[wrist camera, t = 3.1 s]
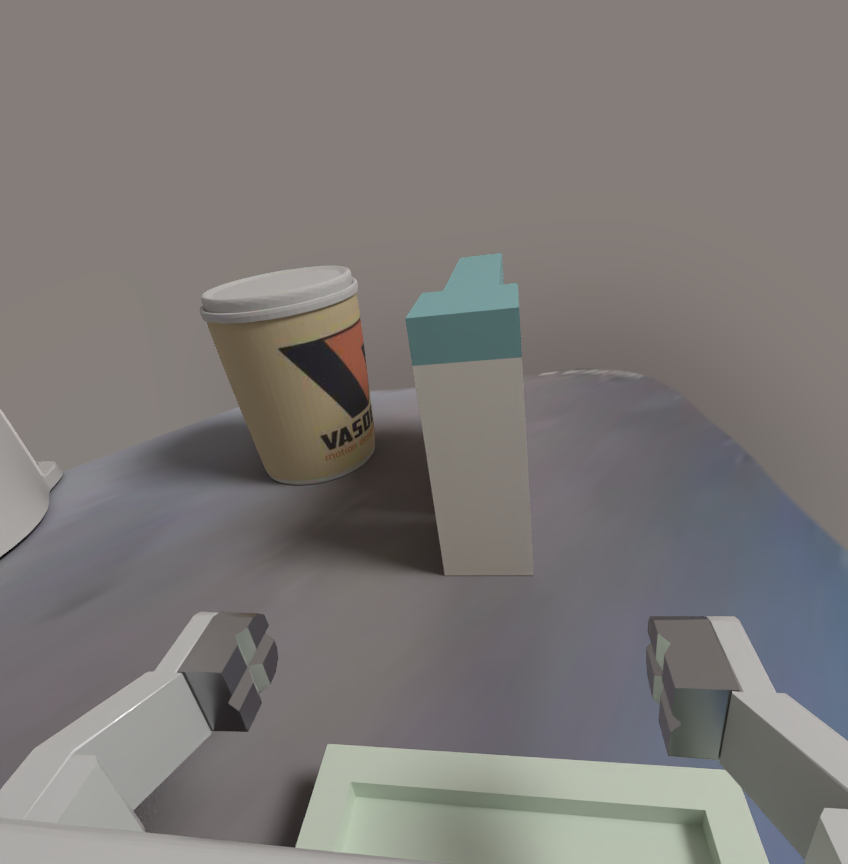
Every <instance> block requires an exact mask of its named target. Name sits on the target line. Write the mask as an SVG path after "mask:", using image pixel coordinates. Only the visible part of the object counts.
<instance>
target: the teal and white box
mask: <svg viewBox="0 0 848 864" xmlns="http://www.w3.org/2000/svg"><path fill="white" fill-rule="evenodd" d="M495 285H504V279H503V264H502V253H498V254H491V255H482V256H473V257H464V258H460V260H459V262H458V264H457V265H456V267H455V269H454V271H453V274H452V275H451V277H450V279H449V281H448V283H447V285H446V287H445V289H444V291H448V290H457V289H466V288H476V287H485V286H495Z"/></svg>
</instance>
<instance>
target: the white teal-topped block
mask: <svg viewBox="0 0 848 864" xmlns="http://www.w3.org/2000/svg"><path fill="white" fill-rule="evenodd" d="M405 319H406V326H407V332H408V338H409V346H410V352H411V358H412V365H413V372H414V378H415V384H416V391H417V398H418V404H419V411H420V417H421V424H422V430H423V437H424V443H425V450H426V457H427V463H428V470H429V476H430V483H431V489H432V496H433V502H434V509H435V515H436V522H437V528H438V535H439V541H440V548H441V554H442V561H443V567H444V574H445V575H534V573H533V555H532V536H531V518H530V499H529V481H528V463H527V444H526V426H525V407H524V389H523V371H522V352H521V335H520V317H519V297H518V283H513V284H504V285H495V286H485V287H476V288H466V289H457V290H448V291H438V292H429V293H422V294H421V296H420V297H419V299H418V300H417V302H416V303H415V305H414V306H413V308H412V309H411V311H410V312H409V314H408V315H407V317H406V318H405Z"/></svg>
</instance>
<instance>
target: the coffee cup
mask: <svg viewBox="0 0 848 864" xmlns="http://www.w3.org/2000/svg"><path fill="white" fill-rule="evenodd" d="M357 291H358V283H357V281H356V279H354V278H353V277H352V276H351V272H350V270H349V269H348V268H347V267H342V266H317V267H306V268H298V269H290V270H284V271H278V272H272V273H267V274H262V275H258V276H253V277H248V278H244V279H241V280H237V281H233V282H230V283H227V284H223V285H220V286H218V287H215V288H212V289H210V290H208V291H206V292H205V293H204V294H203V295H202V298H201V300H202V303H203V306H202V307H201V308H200V313H201V316H202V318H203V320H204V321H206V322H207V324H208V328H209V330H210V333H211V335H212V338H213V341H214V344H215V346H216V349H217V351H218V354H219V356H220V359H221V362H222V364H223V367H224V369H225V372H226V374H227V377H228V379H229V382H230V384H231V387H232V389H233V392H234V394H235V397H236V399H237V401H238V404H239V407H240V409H241V412H242V414H243V416H244V419H245V421H246V424H247V426H248V429H249V431H250V434H251V436H252V439H253V441H254V444H255V446H256V449H257V451H258V453H259V456H260V458H261V460H262V463H263V465H264V467H265V469H266V471H267V473H268V474H269V476H270V477H271V478H272V479H274V480H276V481H278V482H281V483H285V484H291V485H308V484H316V483H322V482H326V481H330V480H333V479H336V478H339V477H342V476H344V475H347V474H349V473H351V472H353V471H354V470H356V469H358V468H359V467H361V466H362V465H364V464H365V463H366V462H367V461H368V460H369V459H370V458H371V456H372V455H373V453H374V450H375V435H374V424H373V416H372V408H371V399H370V391H369V383H368V375H367V367H366V359H365V351H364V343H363V335H362V327H361V320H360V314H359V307H358V299H357V295H356V292H357Z"/></svg>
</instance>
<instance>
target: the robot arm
mask: <svg viewBox="0 0 848 864" xmlns="http://www.w3.org/2000/svg"><path fill="white" fill-rule="evenodd" d="M62 475H63V472H62V471H61V469H60V468H59V466H58V465H57V464H56V463H55V462H52V461H46V462H45V461H44V462H35V461H34V459H33V458H32V456H31V454H30V453H29V451H28V450H27V448H26V447H25V445H24V444H23V442H22V441H21V439H20V438H19V436H18V434H17V433H16V431H15V430H14V428H13V427H12V425H11V424H10V422H9V421H8V419H7V418H6V416H5V415H4V413H3V412H2V410H1V409H0V557H1V556H2V555H3V554H5V553H6V552H7V551H9V550H10V549H11V548H13V547H14V546H15V545H16V544H18V543H19V542H20V541H21V540H22V539H23V538H25V537H26V536H27V535H28V534H29V533H30V532H31V531H32V530H33V529H34V528H35V527H36V526H37V524H38V523H39V522H40V521H41V520H42V518H43V517H44V515H45V513H46V511H47V509H48V506H49V493H50V490H51V489H52V488H53V487H54V486H55V484H56V483H57V482H58V481H59V480H60V478H61V477H62ZM268 626H269V625H268V622H267V620H266V618H265V615H263V614H258V613H231V612H199V613H198V614H196V615H194V616H193V617H192V619H191V620H190V621H189V623H188V624H187V626H186V627H185V629H184V630H183V631H182V633H181V634H180V636H179V637H178V638H177V640H176V641H175V643H174V644H173V646H172V647H171V648H170V650H169V651H168V653H167V654H166V655H165V657H164V658H163V660H162V661H161V662H160V664H159V665H158V667H157V668H156V670H155V671H154V672H147V673H145V674H144V675H142V676H141V677H139V678H138V679H136V680H135V681H133V682H132V683H130V684H129V685H127V686H126V687H124V688H123V689H122V690H120V691H119V692H117V693H116V694H114V695H113V696H111V697H110V698H108V699H107V700H105V701H104V702H102V703H101V704H99V705H98V706H96V707H95V708H93V709H92V710H91V711H89V712H88V713H86V714H85V715H83V716H82V717H80V718H79V719H77V720H76V721H74V722H73V723H71V724H70V725H68V726H67V727H65V728H64V729H62V730H61V731H60V732H58V733H57V734H55V735H54V736H52V737H51V738H49V739H48V740H46V741H45V742H43V743H42V744H40V745H39V746H37V747H36V748H34V749H33V751H32V752H31V753H30V754H29V755H28V757H27V758H26V759H25V760H24V762H23V763H22V764H21V765H20V766H19V768H18V769H17V770H16V771H15V773H14V774H13V775H12V776H11V777H10V779H9V780H8V781H7V782H6V784H5V785H4V786H3V787H2V788H1V790H0V864H451V863H441V862H432V861H422V860H412V859H402V858H392V857H383V856H373V855H363V854H353V853H343V852H333V851H323V850H314V849H304V848H294V847H284V846H274V845H265V844H255V843H245V842H235V841H225V840H216V839H206V838H196V837H186V836H177V835H167V834H157V833H147V832H145V829H144V826H143V824H142V823H141V822H140V820H139V819H138V817H137V816H136V814H135V813H134V811H133V810H134V809H135V808H136V807H137V806H138V805H139V804H140V803H141V802H142V801H143V800H144V799H145V798H147V797H148V796H149V795H150V794H151V793H152V792H153V791H154V790H155V789H156V788H157V787H158V786H159V785H160V784H161V783H162V782H163V781H164V780H165V779H166V778H167V777H168V776H169V775H170V774H171V773H172V772H173V771H174V770H175V769H176V768H177V767H178V766H179V765H180V764H181V763H182V762H183V761H184V760H185V759H186V758H187V757H188V756H189V755H190V754H191V753H192V752H193V751H194V750H195V749H196V748H197V747H198V746H199V745H200V744H201V743H202V742H203V741H204V740H205V739H207V738H208V737H209V736H210V735H211V734H212V732H211V731H236V732H248V731H249V729H250V727H251V725H252V723H253V721H254V718H255V716H256V714H257V712H258V710H259V708H260V706H261V703H262V702H261V698H260V692H262V691H263V690H264V689H265V688H266V687H268V686H269V685H270V684H271V682H272V679H273V677H274V675H275V672H276V667H277V661H278V653H277V646H276V644H275V641H274V639H272V638H271V637H270V636H269V635H268V634H266V633H265V632H266V630H267V628H268ZM648 634H649V637H650V641H651V644H650V645H648V646H647V649H646V664H647V675H648V680H649V686H650V690H651V694H652V698H653V699H654V700H655V701H656V702H657V703H658V704H659V705H660V709H659V724H660V728H661V731H662V735H663V738H664V742H665V746H666V749H667V753H668V756H676V757H688V758H700V759H712V760H720V762H719V763H720V764H721V765H722V766H723V767H724V769H725V770H726V771H727V772H728V773H729V774H730V775H731V776H732V778H733V779H734V780H735V781H736V782H737V783H738V784H739V786H740V787H741V788H742V789H743V790H744V791H745V792H746V794H747V795H748V796H749V797H750V798H751V799H752V800H753V801H754V803H755V804H756V805H757V806H758V807H759V808H760V809H761V811H762V812H763V813H764V814H765V815H766V816H767V817H768V818H769V820H770V821H771V822H772V823H773V824H774V825H775V826H776V828H777V829H778V830H779V831H780V832H781V833H782V834H783V835H784V837H785V838H786V839H787V840H788V841H789V842H790V843H791V845H792V846H793V847H794V848H795V849H796V850H797V851H798V853H799V854H800V855H801V856H802V857H803V858H804V859H805V862H804V864H848V741H847V740H846V739H844V738H843V737H842V736H840V735H839V734H838V733H837V732H835V731H834V730H833V729H831V728H830V727H829V726H827V725H826V724H825V723H824V722H822V721H821V720H820V719H818V718H817V717H816V716H814V715H813V714H812V713H811V712H809V711H808V710H807V709H805V708H804V707H803V706H801V705H800V704H799V703H797V702H796V701H795V700H794V699H792V698H791V697H790V696H788V695H787V694H786V693H776V691H775V689H774V687H773V685H772V683H771V682H770V680H769V678H768V676H767V674H766V672H765V670H764V668H763V666H762V664H761V662H760V660H759V658H758V656H757V654H756V652H755V650H754V648H753V646H752V644H751V642H750V640H749V638H748V636H747V634H746V632H745V630H744V628H743V627H742V625H741V623H740V621H739V620H738V619H737V618H736V617H735V616H706V617H704V616H650V618H649V621H648Z"/></svg>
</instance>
